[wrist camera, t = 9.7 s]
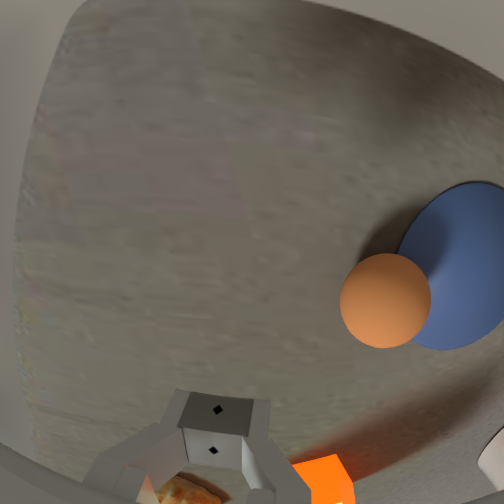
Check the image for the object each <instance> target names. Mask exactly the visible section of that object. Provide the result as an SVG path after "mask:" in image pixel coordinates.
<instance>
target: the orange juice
mask: <svg viewBox="0 0 504 504" xmlns="http://www.w3.org/2000/svg"><path fill="white" fill-rule="evenodd" d="M292 466H293V467H294V469H295V470H296V471H297V472H298V474H299V475H300V476H301V477H302V479H303V480H304V481H305V482H306V484H307V485H308V486H309V487H310V489H311V497H312V504H355V497H354V490H353V483H352V481H351V479H350V478H349V476H348V474H347V472H346V471H345V469H344V467H343V466H342V464H341V462H340V460H339V459H338V457H337V455H336V454H334V455H330V456H327V457H323V458H319V459H315V460H311V461H307V462H303V463H299V464H295V465H292Z"/></svg>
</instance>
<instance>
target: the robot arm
mask: <svg viewBox="0 0 504 504" xmlns="http://www.w3.org/2000/svg"><path fill="white" fill-rule="evenodd" d="M270 404H271V402H270V400H262V399H247V398H236V397H226V396H217V395H210V394H204V393H198V392H190V391H184V390H179V389H176V390H175V391H174V393H173V395H172V397H171V399H170V402H169V404H168V406H167V408H166V410H165V413H164V415H163V417H162V419H161V421H160V424H159V423H154V424H152V425H150V426H149V427H147V428H145V429H144V430H142V431H140V432H138V433H136V434H135V435H133V436H131V437H129V438H127V439H126V440H124V441H122V442H120V443H118V444H116V445H115V446H113V447H111V448H109V449H107V450H105V451H103V452H101V453H99V454H98V456H97V457H96V459H95V461H94V463H93V464H92V466H91V468H90V470H89V471H88V473H87V475H86V477H85V478H84V480H83V482H82V483H80V482H78V481H75V480H73V479H71V478H68V477H66V476H64V475H62V474H59V473H57V472H55V471H53V470H51V469H49V468H47V467H45V466H43V465H41V464H39V463H37V462H35V461H32V460H31V459H29V458H27V457H25V456H23V455H22V454H20V453H18V452H16V451H15V450H12V449H11V448H9V447H8V446H6V445H4V444H3V443H1V442H0V504H160V503H159V501H158V499H157V496H156V494H155V491H156V490H157V489H159V488H160V487H161V486H162V485H164V484H165V483H166V482H167V481H169V480H170V479H171V478H172V477H174V476H175V475H176V474H177V473H178V472H180V471H181V470H182V469H183V468H184V467H186V466H187V465H188V463H194V464H201V465H209V466H216V467H222V468H229V469H236V470H242V473H243V475H244V476H245V478H246V480H247V482H248V484H249V486H250V488H251V489H252V490H250V491H249V492H248V498H247V504H312V497H311V489H310V487H309V486H308V485H307V484H306V482H305V481H304V480H303V479H302V477H301V476H300V475H299V474H298V472H297V471H296V470H295V469H294V467H293V466H292V465H291V463H290V462H289V461H288V460H287V458H286V457H285V456H284V454H283V453H282V452H281V450H280V449H279V448H278V446H277V445H276V444H275V442H274V441H273V440H272V439H267V436H268V425H269V415H270ZM478 466H479V468H480V469H481V470H482V471H483V472H484V473H485V474H486V476H487V478H488V479H490V480H491V482H492V483H493V485H494V486H495V488H496V490H497V491H498V492H496V493H493V494H490V495H487V496H484V497H482V498H479V499H476V500H473V501H469V502H466V503H463V504H504V428H503V429H502V430H501V431H500V432H499V433H498V434H497V435H496V436H495V437H494V438H493V439H492V441H491V442H490V443H489V444H488V445H487V447H486V448H485V449H484V451H483V452H482V454H481V456H480V458H479V461H478Z"/></svg>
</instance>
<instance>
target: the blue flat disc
mask: <svg viewBox="0 0 504 504" xmlns="http://www.w3.org/2000/svg"><path fill="white" fill-rule="evenodd" d="M397 255H400V256H403V257H406V258H407V259H409V260H411V261H412V262H414V263H415V264H416V265H417V266H418V267H419V268H420V269H421V270H422V272H423V273H424V275H425V277H426V278H427V281H428V283H429V286H430V291H431V308H430V312H429V315H428V318H427V320H426V322H425V324H424V326H423V327H422V329H421V330H420V331H419V332H418V333H417V334H416V335H415V336H414V337H413V338H412V340H413V341H415V342H416V343H418V344H420V345H422V346H424V347H427V348H430V349H437V350H449V349H456V348H460V347H463V346H466V345H469V344H471V343H473V342H475V341H477V340H479V339H480V338H482V337H483V336H485V335H486V334H488V333H489V332H490V331H491V330H493V329H494V328H495V327H496V326H497V325H498V324H499V323H500V322H501V321H502V320H503V319H504V191H503V190H501V189H499V188H497V187H495V186H492V185H489V184H484V183H467V184H463V185H459V186H456V187H454V188H452V189H449V190H447V191H446V192H444V193H442V194H441V195H439V196H438V197H436V198H435V199H434V200H433V201H431V202H430V203H429V204H428V205H427V206H426V207H425V208H424V209H423V210H422V211H421V212H420V213H419V215H418V216H417V217H416V219H415V220H414V221H413V222H412V224H411V226H410V227H409V229H408V230H407V232H406V234H405V236H404V238H403V240H402V242H401V244H400V246H399V249H398V252H397Z"/></svg>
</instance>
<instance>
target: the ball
mask: <svg viewBox="0 0 504 504" xmlns="http://www.w3.org/2000/svg"><path fill="white" fill-rule="evenodd" d="M430 308H431V291H430V286H429V283H428V281H427V278H426V277H425V275H424V273H423V272H422V270H421V269H420V268H419V267H418V266H417V265H416V264H415V263H414V262H412V261H411V260H409V259H407V258H406V257H403V256H400V255H397V254H391V253H383V254H377V255H373V256H371V257H368V258H366V259H364V260H363V261H361V262H360V263H359V264H357V265H356V266H355V267H354V268H353V269H352V270H351V272H350V273H349V274H348V276H347V278H346V279H345V282H344V284H343V286H342V290H341V295H340V309H341V314H342V318H343V320H344V322H345V325H346V326H347V328H348V329H349V331H350V332H351V333H352V334H353V335H354V336H355V337H356V338H357V339H358V340H360V341H361V342H363V343H365V344H367V345H370V346H373V347H377V348H390V347H396V346H399V345H401V344H404V343H406V342H407V341H409V340H411V339H412V338H413V337H414V336H415V335H416V334H417V333H418V332H419V331H420V330H421V329H422V327H423V326H424V324H425V322H426V320H427V318H428V315H429V312H430Z"/></svg>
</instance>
